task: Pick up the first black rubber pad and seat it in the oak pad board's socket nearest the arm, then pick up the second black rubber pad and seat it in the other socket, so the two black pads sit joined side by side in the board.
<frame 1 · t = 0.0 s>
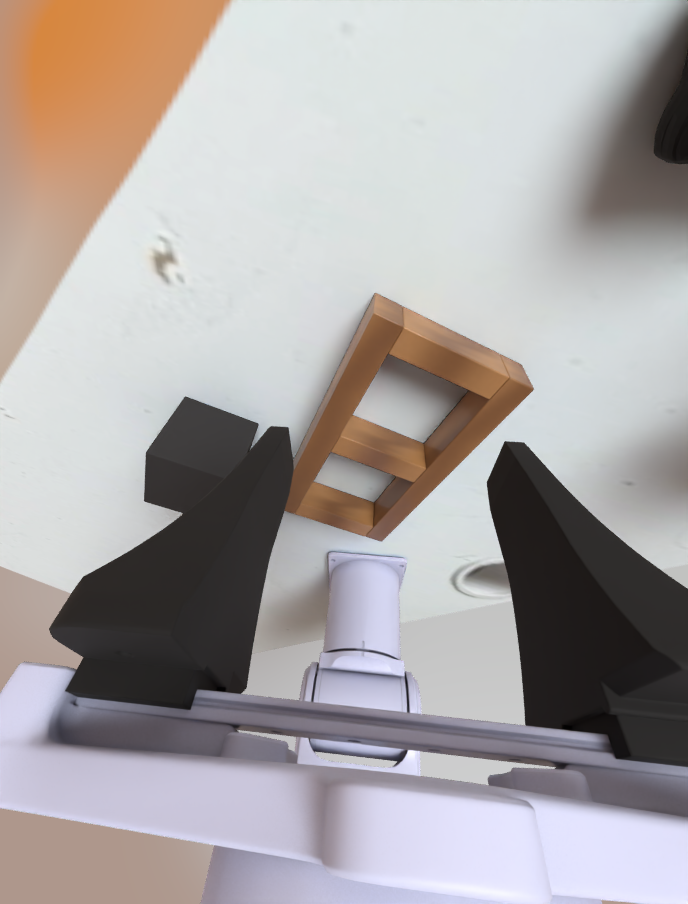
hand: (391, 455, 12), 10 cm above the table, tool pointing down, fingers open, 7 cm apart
pad board: (379, 435, 25), on the table
black pad 2: (216, 434, 27), on the table
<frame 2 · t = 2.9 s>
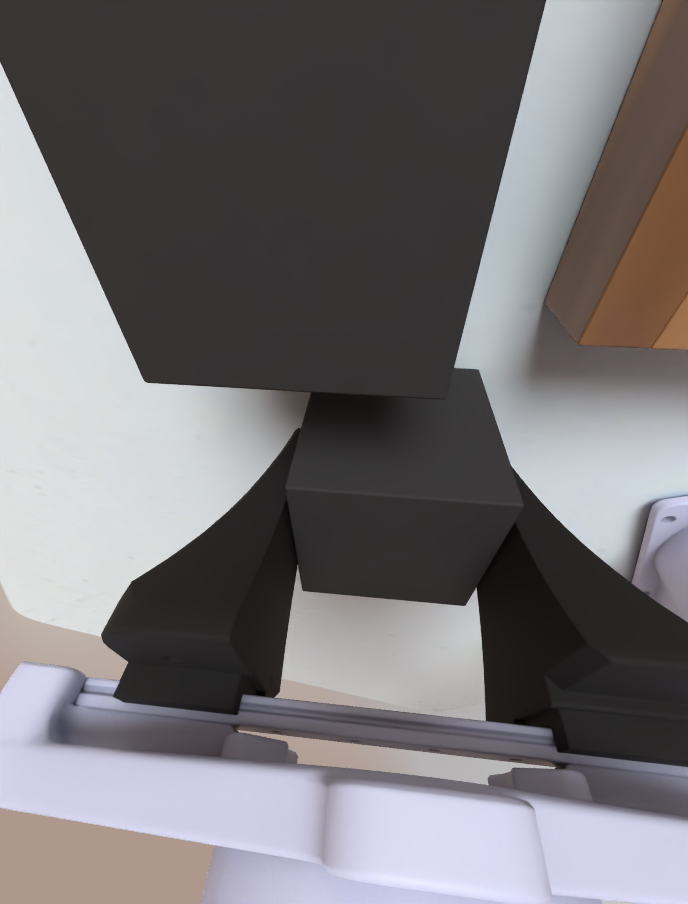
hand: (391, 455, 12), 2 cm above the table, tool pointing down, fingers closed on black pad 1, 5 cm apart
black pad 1: (390, 425, 13), on the table, touching gripper
black pad 2: (327, 159, 8), on the table
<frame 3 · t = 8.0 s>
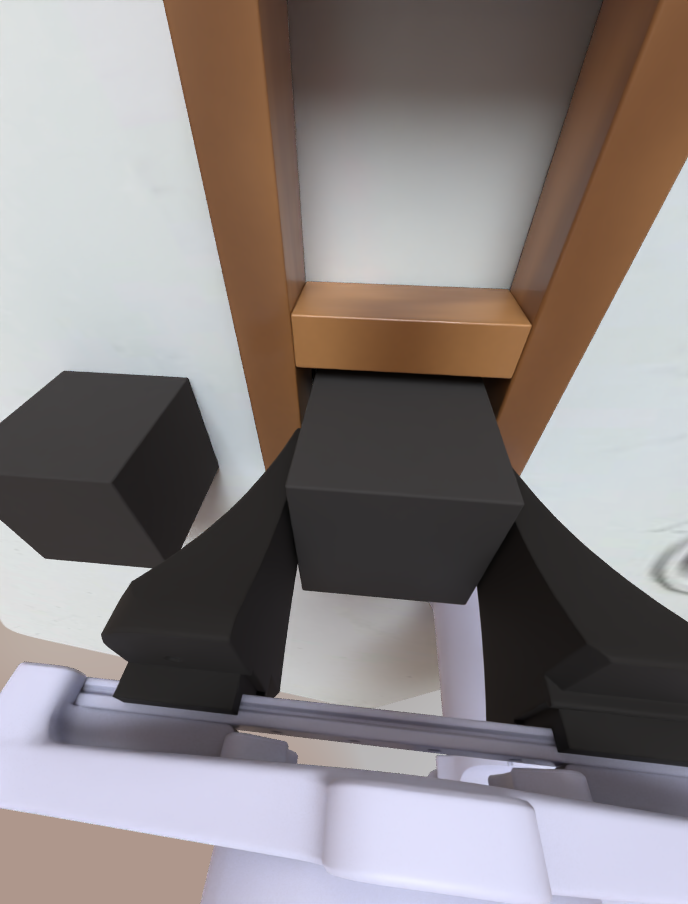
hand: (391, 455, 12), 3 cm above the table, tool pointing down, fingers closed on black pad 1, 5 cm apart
pad board: (402, 310, 11), on the table
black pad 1: (390, 424, 13), point 1 cm above the table, touching gripper
black pad 2: (149, 423, 16), on the table
when the fingers open (3 cm above the table, at t = 11.3 s): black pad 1 drops 1 cm, resting in pad board.
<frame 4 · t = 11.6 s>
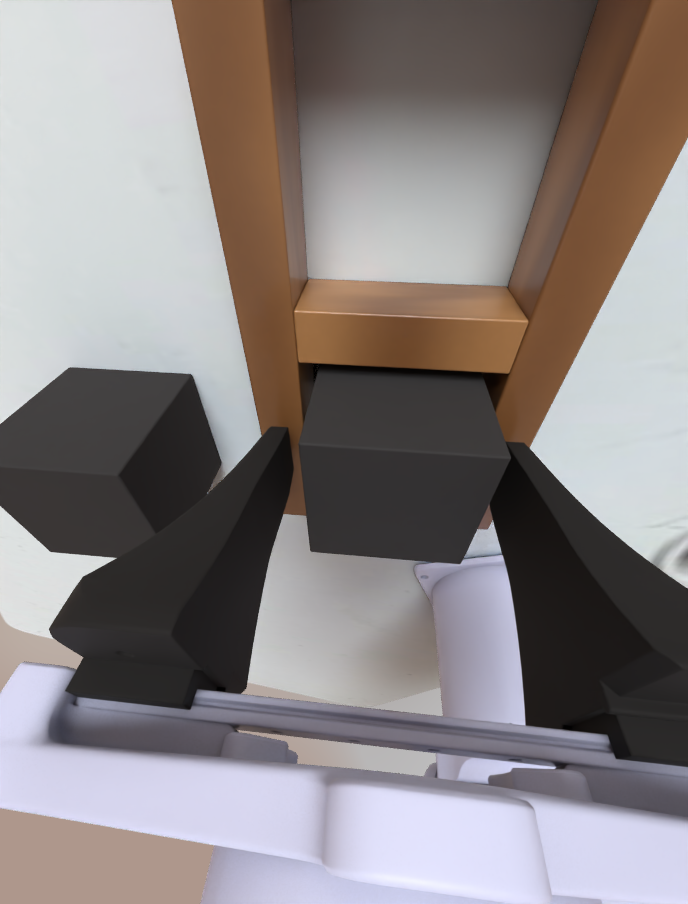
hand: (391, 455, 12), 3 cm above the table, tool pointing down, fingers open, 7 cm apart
pad board: (402, 307, 12), on the table
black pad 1: (391, 402, 14), resting in pad board
black pad 2: (153, 419, 16), on the table
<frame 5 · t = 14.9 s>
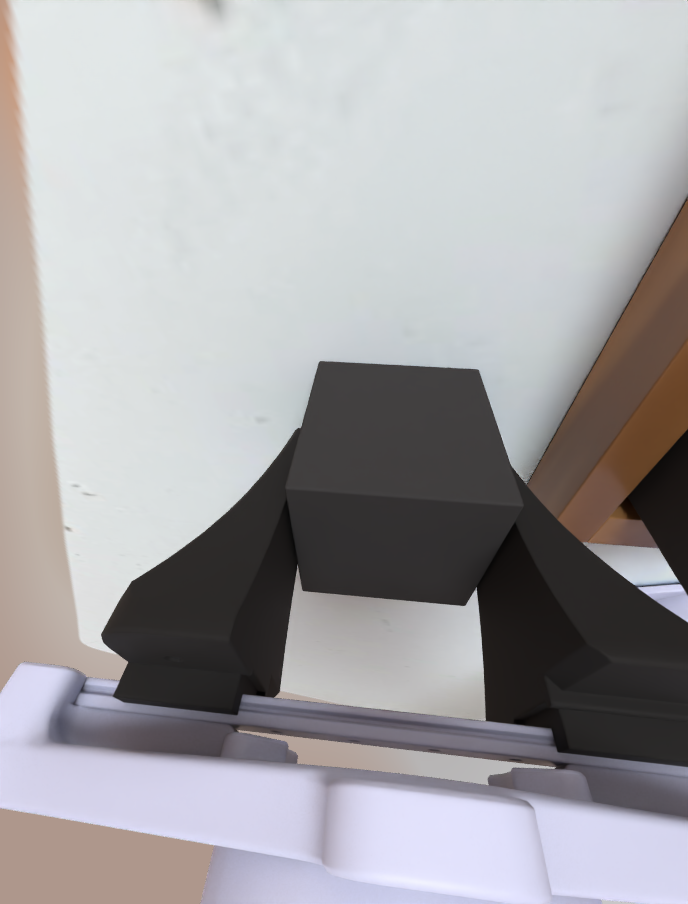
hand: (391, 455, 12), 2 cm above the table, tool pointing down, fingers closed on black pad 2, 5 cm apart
black pad 2: (390, 425, 13), on the table, touching gripper
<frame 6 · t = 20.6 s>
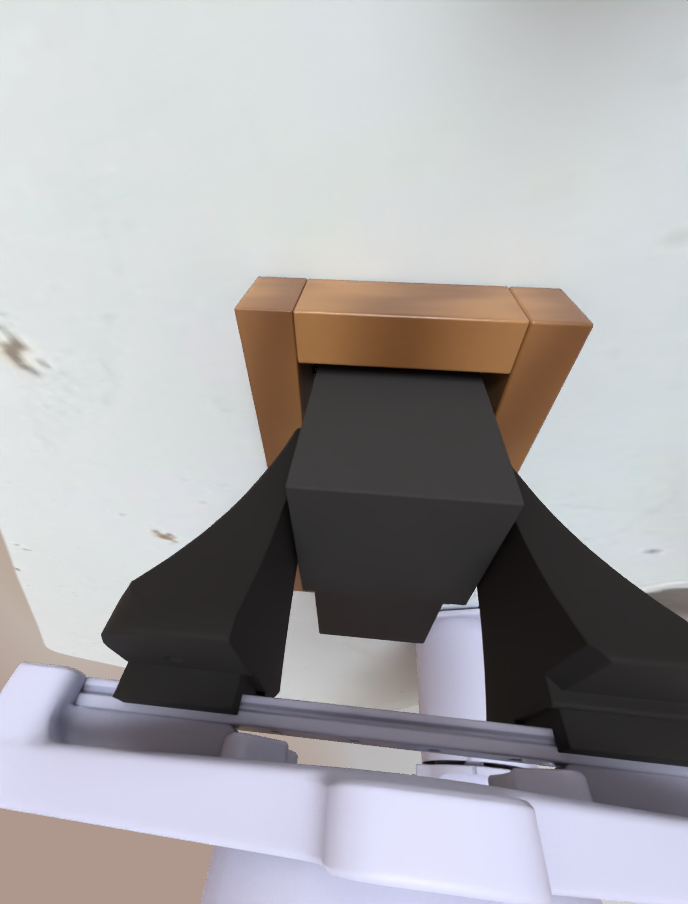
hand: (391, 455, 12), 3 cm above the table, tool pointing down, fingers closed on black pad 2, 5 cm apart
pad board: (383, 469, 17), on the table
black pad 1: (377, 516, 20), resting in pad board
black pad 2: (390, 424, 13), point 1 cm above the table, touching gripper
when the fingers open (3 cm above the table, at t = 23.4 s): black pad 2 drops 1 cm, resting in pad board.
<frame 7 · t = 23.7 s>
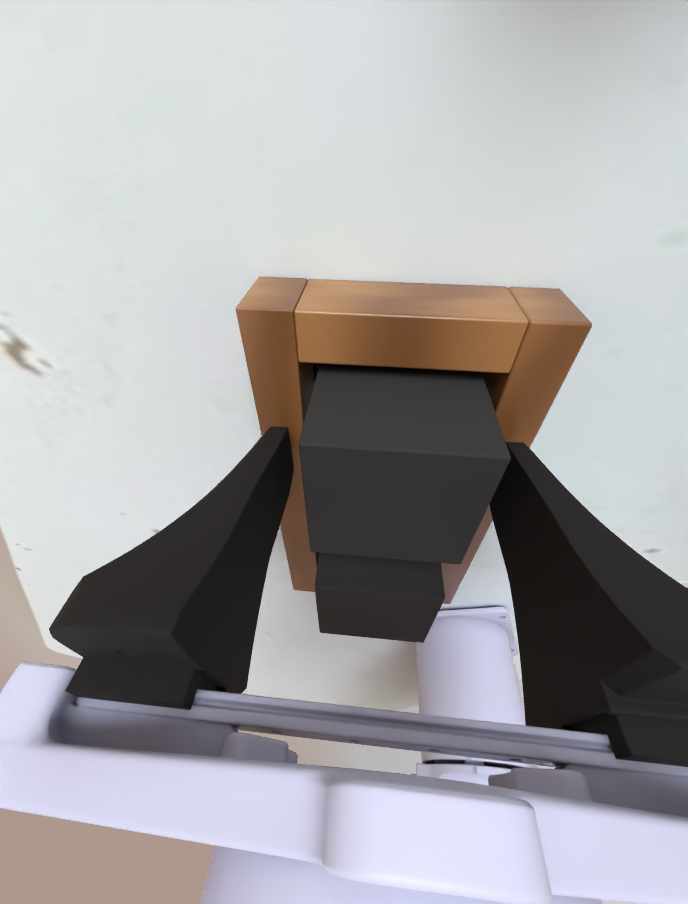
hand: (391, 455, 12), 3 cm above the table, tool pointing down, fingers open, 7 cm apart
pad board: (383, 469, 17), on the table
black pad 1: (377, 516, 20), resting in pad board
black pad 2: (391, 402, 14), resting in pad board
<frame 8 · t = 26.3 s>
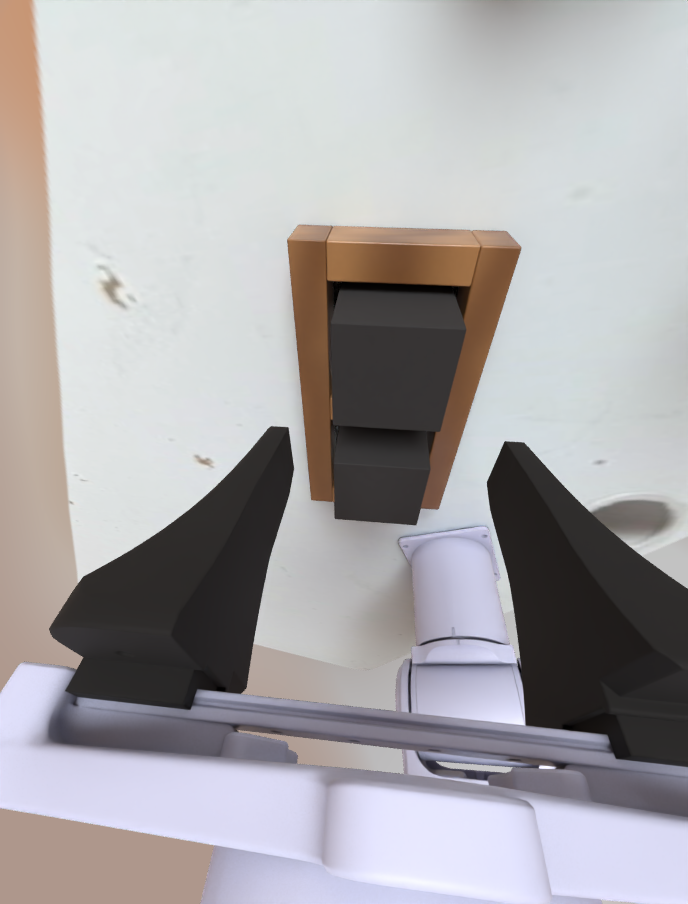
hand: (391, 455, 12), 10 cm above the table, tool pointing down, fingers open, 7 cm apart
pad board: (384, 388, 22), on the table
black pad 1: (379, 434, 25), resting in pad board
black pad 2: (390, 326, 19), resting in pad board
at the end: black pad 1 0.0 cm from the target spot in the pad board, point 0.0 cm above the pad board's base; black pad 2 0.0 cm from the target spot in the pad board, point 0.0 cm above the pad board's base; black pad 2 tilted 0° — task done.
